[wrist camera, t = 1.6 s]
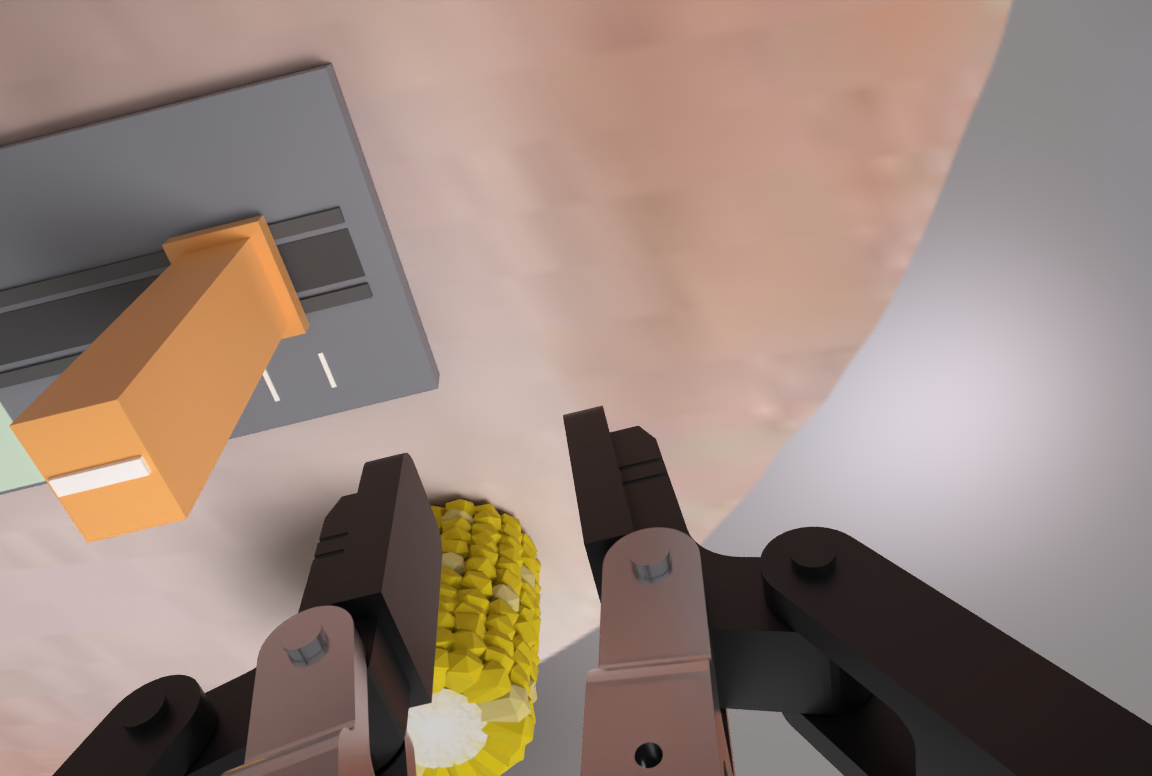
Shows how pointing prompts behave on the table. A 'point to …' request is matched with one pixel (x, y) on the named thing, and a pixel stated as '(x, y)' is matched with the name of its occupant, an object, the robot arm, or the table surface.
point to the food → (481, 647)
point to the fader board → (196, 202)
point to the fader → (164, 383)
